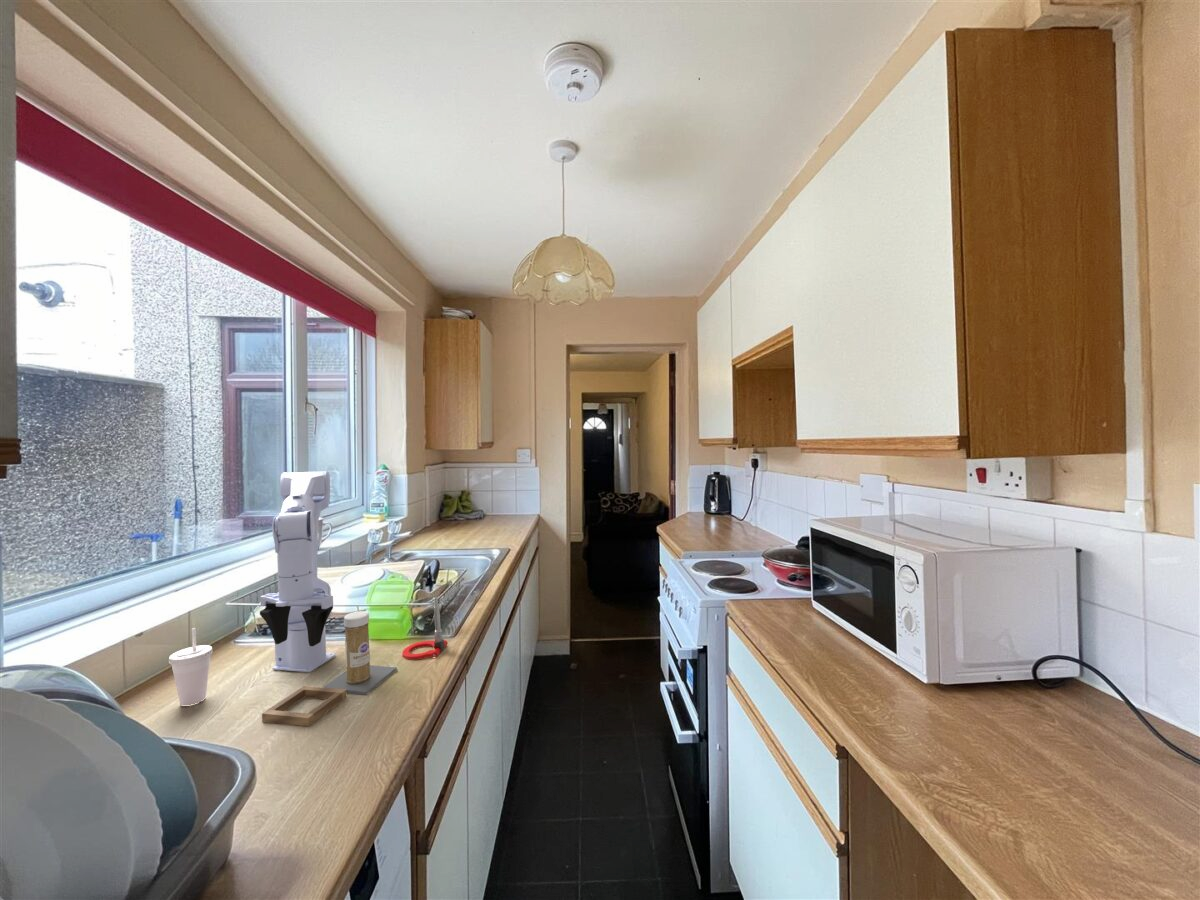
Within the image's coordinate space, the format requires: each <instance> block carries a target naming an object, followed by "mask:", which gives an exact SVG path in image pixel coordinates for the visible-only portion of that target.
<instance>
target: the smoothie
mask: <svg viewBox="0 0 1200 900" xmlns="http://www.w3.org/2000/svg"><path fill="white" fill-rule="evenodd" d="M196 630H197V629H196V627H192V628H191V640H192V641H191V642H192V646H189V647H186V648H182V649H180V650H177V651H175V652H173V653H172V654H170V655H169V656H168V657H169V658H168V664H170V665H171V668H172V673H173V677H174V681H175V682H174V683H175V687H176V691H177V696H178V701H179V705H180V704H181V705H191V704H195V703H198V702H200V701H201V700H203V699H204V698H205V697H206V696H207V690H208V681H209V672H210V664H211V663H210V662H211V655H212V654H213V646H211V645H207V644H202V645H197V631H196Z"/></svg>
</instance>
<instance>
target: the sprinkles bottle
mask: <svg viewBox="0 0 1200 900" xmlns="http://www.w3.org/2000/svg"><path fill="white" fill-rule="evenodd" d="M369 625H370V614H369V611H365V610H362V611H361V610H358V611H353V612H349V613H347V614H346V615H344V616H343V626H344V629H345V633H344V636H345V637H344V638H345V640H344V644H345V645H344V647H345V666H346V670H347V678H346V681H347V682H348V683H351V684H356V683H361V682H363V681H365V680H367V679H369V677H370V675H371V674H370V665H371V664H370V662H371V661H370V660H371V653H370V636H369V634H370V633H369Z"/></svg>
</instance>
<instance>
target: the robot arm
mask: <svg viewBox="0 0 1200 900" xmlns="http://www.w3.org/2000/svg"><path fill="white" fill-rule="evenodd" d="M330 476H331V475H330V472H329V471H328V470H324V471H323V470H322V471H303V472H302V471H301V472H299V471H297V472H287V471H285V472H282V474H281V475H280V479H279V480H280V484H279V485H280V486H279V488H280V495H281V497H282V506H281V509H280V512H279V514H278V516H274V517H273V519H272V527H271V529H272V538H273V541H274V542H273V543H274V551H275V553H276V554H277V557H276V559H277V587H278V592H277V593H272V592H271V593H270V592H269V593H266V594H263V595H261V596H260V598H259V599H260V600H259V601H260V602H259V603H260V607H264V609H261V610H259V616H260V617H262V619H263V621H264V622H265V623H266V625H267V627H268V629H269V630H270V633H271V635H272V636H271V637H272V639H273V641H274V656H275V659H274V661H275V665H274V666H272V668H271V669H272V670H276V671H287V672H288V671H289V672H302V673H311V672H312V671H315V669H317V668H319V667H321V666H322V665H324V664H325V663H326V662H328V661H330V660H332V659H333V658H335V657H336V653H332V652H331V653H329V652H327V642H326V640H327V638H326V634H327V633H326V622H327V621H328V620H329V619H330V618H331V617H332V611H333V609H334V596H333V595H332V593H331V586H330V584H329V583H328V582H327V581H325V580H323V579H321V578H318V558H319V557H318V553H319V550H318V544H319V543H318V542H319V539H318V538H319V535H318V534H319V532H318V531H319V519H320V516H321V513H322V511H324V510H326V509H327V508H329V506H330V505H329V503H330V502H331V500H330V499H331V477H330Z"/></svg>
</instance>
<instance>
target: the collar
mask: <svg viewBox="0 0 1200 900" xmlns="http://www.w3.org/2000/svg"><path fill="white" fill-rule="evenodd" d="M322 687H323V686H322ZM322 687H320V686H309V685H303V686H301V687H300V688H299V689H297V690H296V691H294V692H292V693H291V694H288V696H286V697H285V698H283V699H282V700H280V701H279V702H277V703H276V704H274V705H272V706H271V707H269V708H268V709H266V710H264V711H263V712H262V713H261V722H262V723H271V724H280V725H291V726H300V727H310V726H311V725H313V724H314V723H315V722H317V721H318V720H319V719H320V718H321V717H323V716H324V715H326V714H327V713H328V712H330V711H331V710H332V709H333V708H335V707H336V706H338V704H340V703H341V702H342V701H343V700H346V698H347V696H348V695H347V693H346V689H334V688H322ZM304 698H308V699H309V698H311V699H320V700H324V701H323V702H321V703H320V704H319V705H317V706H316V707H314V708H313V709H312V710H310V711H309V712H308V713H307V712H296V711H288V709H290V708H291V707H292V706H294V705H296V704H297V703H298V702H300V701H301V700H303V699H304Z"/></svg>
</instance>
